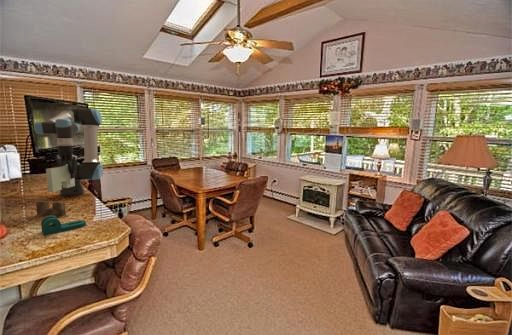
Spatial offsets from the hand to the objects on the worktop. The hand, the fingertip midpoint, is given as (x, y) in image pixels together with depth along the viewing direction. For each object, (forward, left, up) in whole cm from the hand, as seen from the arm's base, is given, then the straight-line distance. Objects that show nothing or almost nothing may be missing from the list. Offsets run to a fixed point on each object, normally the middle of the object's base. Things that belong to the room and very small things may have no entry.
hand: (68, 183), depth 161 cm
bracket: (+31, +13, -17) cm, 38 cm away
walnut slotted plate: (+9, -6, -17) cm, 20 cm away
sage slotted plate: (+5, -1, -2) cm, 5 cm away
